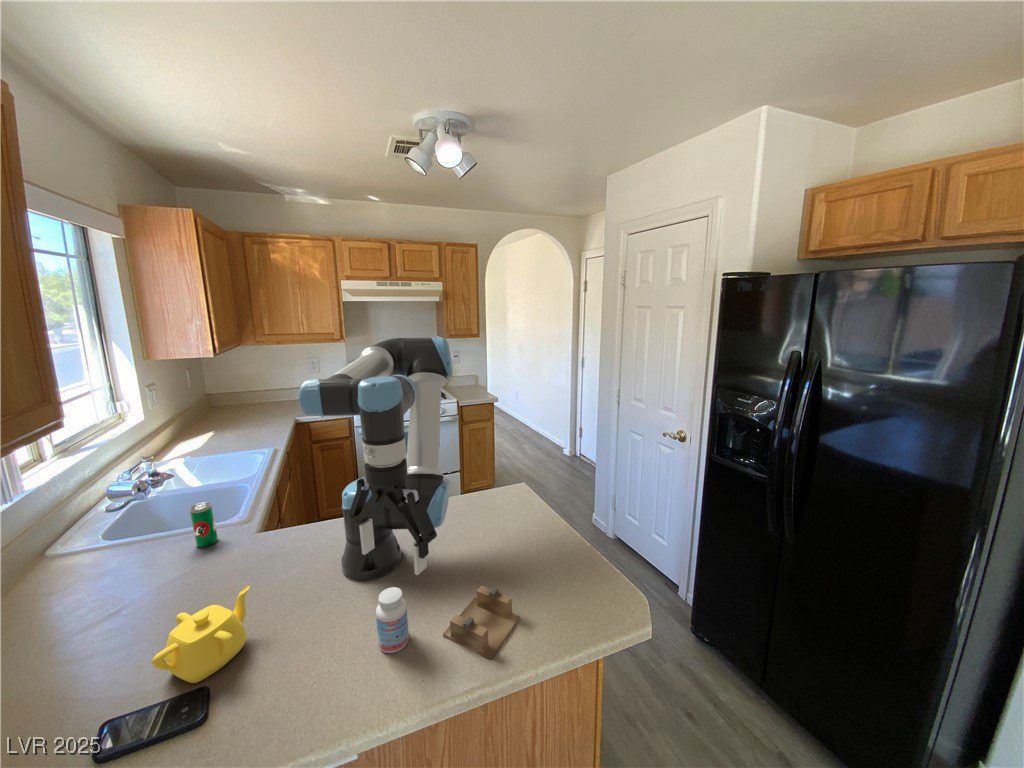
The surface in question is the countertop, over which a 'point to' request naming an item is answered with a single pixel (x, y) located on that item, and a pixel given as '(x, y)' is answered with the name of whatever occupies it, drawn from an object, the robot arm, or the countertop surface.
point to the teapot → (204, 641)
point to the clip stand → (484, 623)
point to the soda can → (203, 524)
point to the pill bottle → (392, 620)
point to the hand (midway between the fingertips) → (393, 560)
